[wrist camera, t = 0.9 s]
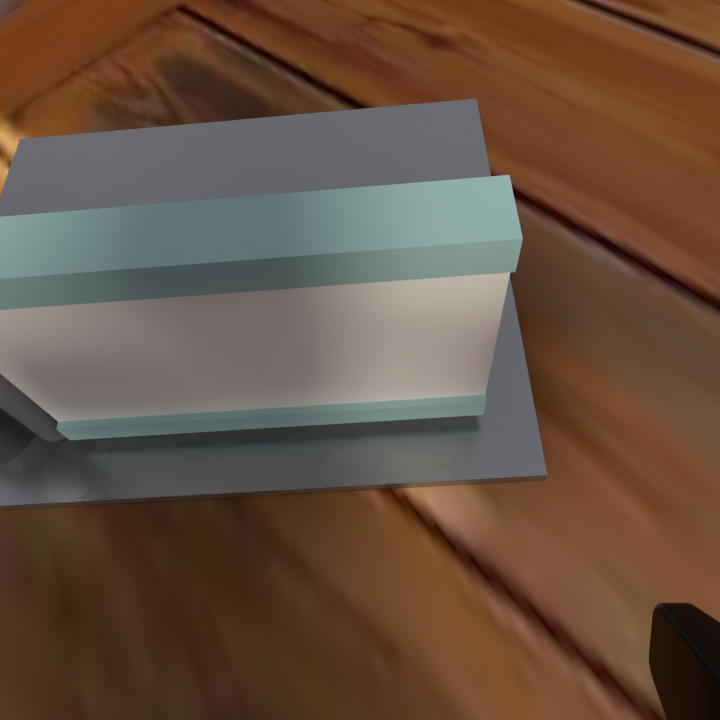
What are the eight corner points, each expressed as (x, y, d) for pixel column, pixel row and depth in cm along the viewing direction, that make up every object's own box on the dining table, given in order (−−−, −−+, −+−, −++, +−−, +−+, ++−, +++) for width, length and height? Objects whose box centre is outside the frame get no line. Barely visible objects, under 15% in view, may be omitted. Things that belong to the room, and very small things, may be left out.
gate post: (-102, 515, 24) (-509, 354, 13) (25, 146, 34) (-151, -110, 23) (544, 479, 22) (654, 269, 12) (475, 107, 32) (502, -184, 22)
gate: (30, 448, 23) (-196, 288, 15) (42, 400, 24) (-163, 224, 16) (483, 420, 22) (524, 233, 14) (476, 371, 24) (510, 168, 15)
